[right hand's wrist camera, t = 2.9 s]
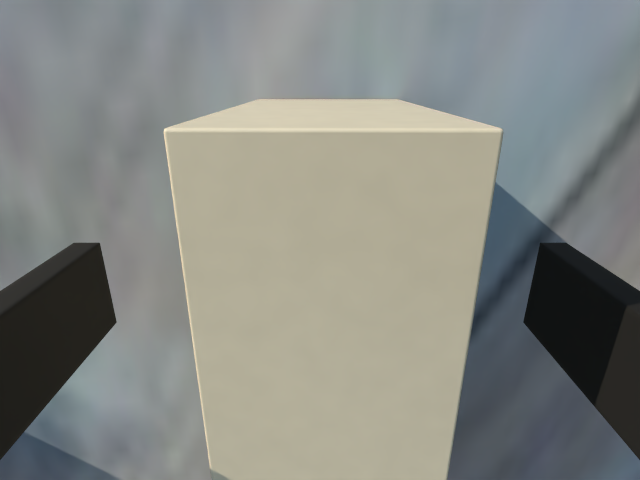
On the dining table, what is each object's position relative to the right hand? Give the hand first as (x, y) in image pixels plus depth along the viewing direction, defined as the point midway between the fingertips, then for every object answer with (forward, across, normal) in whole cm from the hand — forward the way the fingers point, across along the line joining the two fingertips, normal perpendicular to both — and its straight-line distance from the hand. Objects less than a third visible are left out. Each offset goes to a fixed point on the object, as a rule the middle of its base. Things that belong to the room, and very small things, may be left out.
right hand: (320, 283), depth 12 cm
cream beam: (+4, 0, +8) cm, 9 cm away
